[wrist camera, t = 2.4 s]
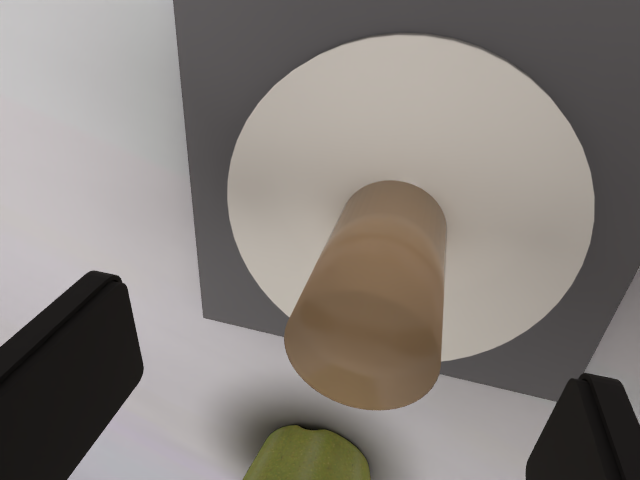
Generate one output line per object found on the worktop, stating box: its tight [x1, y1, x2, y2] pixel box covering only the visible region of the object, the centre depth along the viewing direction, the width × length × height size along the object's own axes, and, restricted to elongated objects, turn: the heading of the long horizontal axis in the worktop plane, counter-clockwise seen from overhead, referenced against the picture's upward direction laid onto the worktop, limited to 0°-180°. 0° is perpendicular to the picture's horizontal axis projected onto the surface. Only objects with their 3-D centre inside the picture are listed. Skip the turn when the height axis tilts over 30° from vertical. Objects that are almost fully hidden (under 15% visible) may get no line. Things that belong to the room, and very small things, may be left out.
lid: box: [227, 33, 595, 410], centre depth 13 cm, size 12×12×7 cm
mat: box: [173, 0, 640, 402], centre depth 16 cm, size 16×16×1 cm
